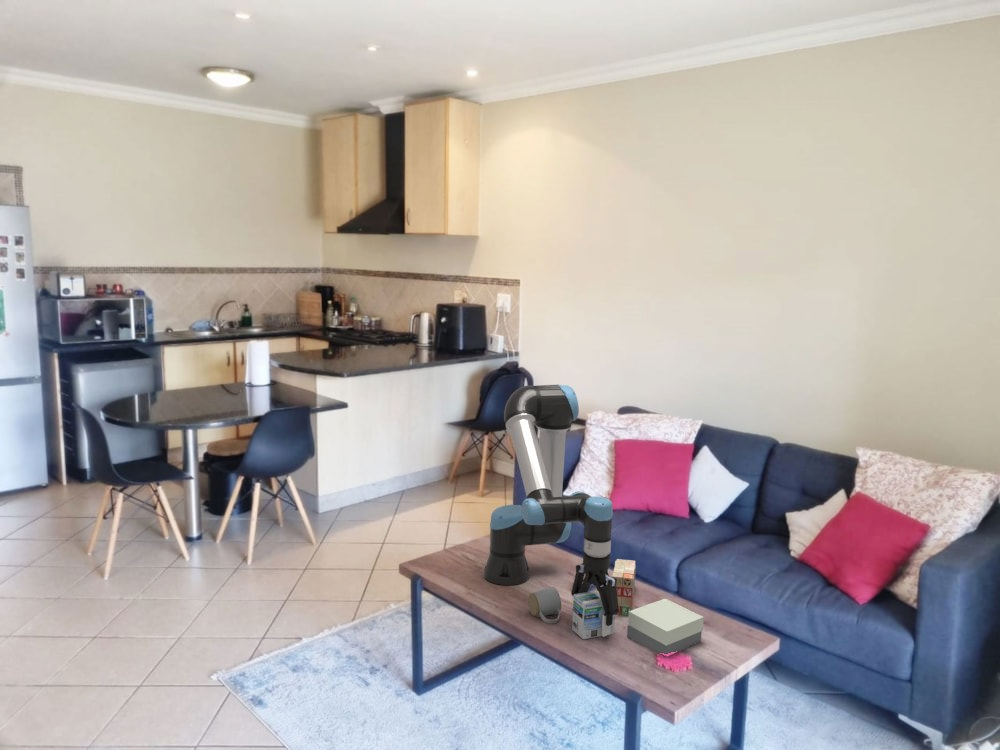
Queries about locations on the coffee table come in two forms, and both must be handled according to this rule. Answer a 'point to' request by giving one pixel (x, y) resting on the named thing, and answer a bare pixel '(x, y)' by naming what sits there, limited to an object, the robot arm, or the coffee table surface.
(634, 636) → the tower base slab
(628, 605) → the stack of blocks
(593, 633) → the light bulb box
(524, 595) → the coffee table surface
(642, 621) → the tower top slab
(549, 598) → the ceramic mug
